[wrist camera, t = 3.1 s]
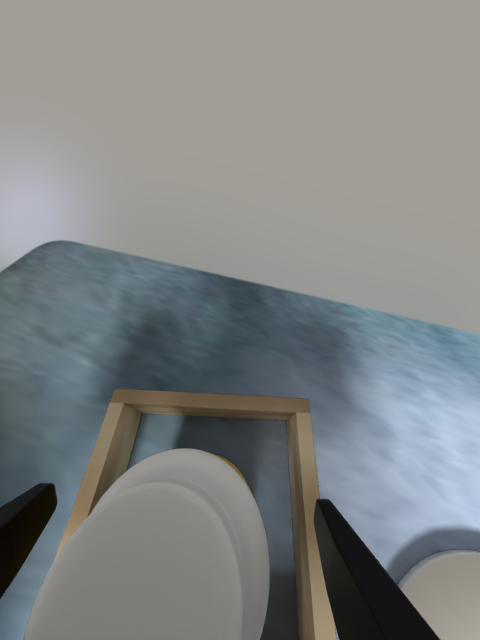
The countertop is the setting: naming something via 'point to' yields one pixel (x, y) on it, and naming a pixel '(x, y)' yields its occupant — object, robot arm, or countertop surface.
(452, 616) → the plate
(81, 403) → the countertop surface
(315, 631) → the bin frame
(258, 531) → the supplement bottle
